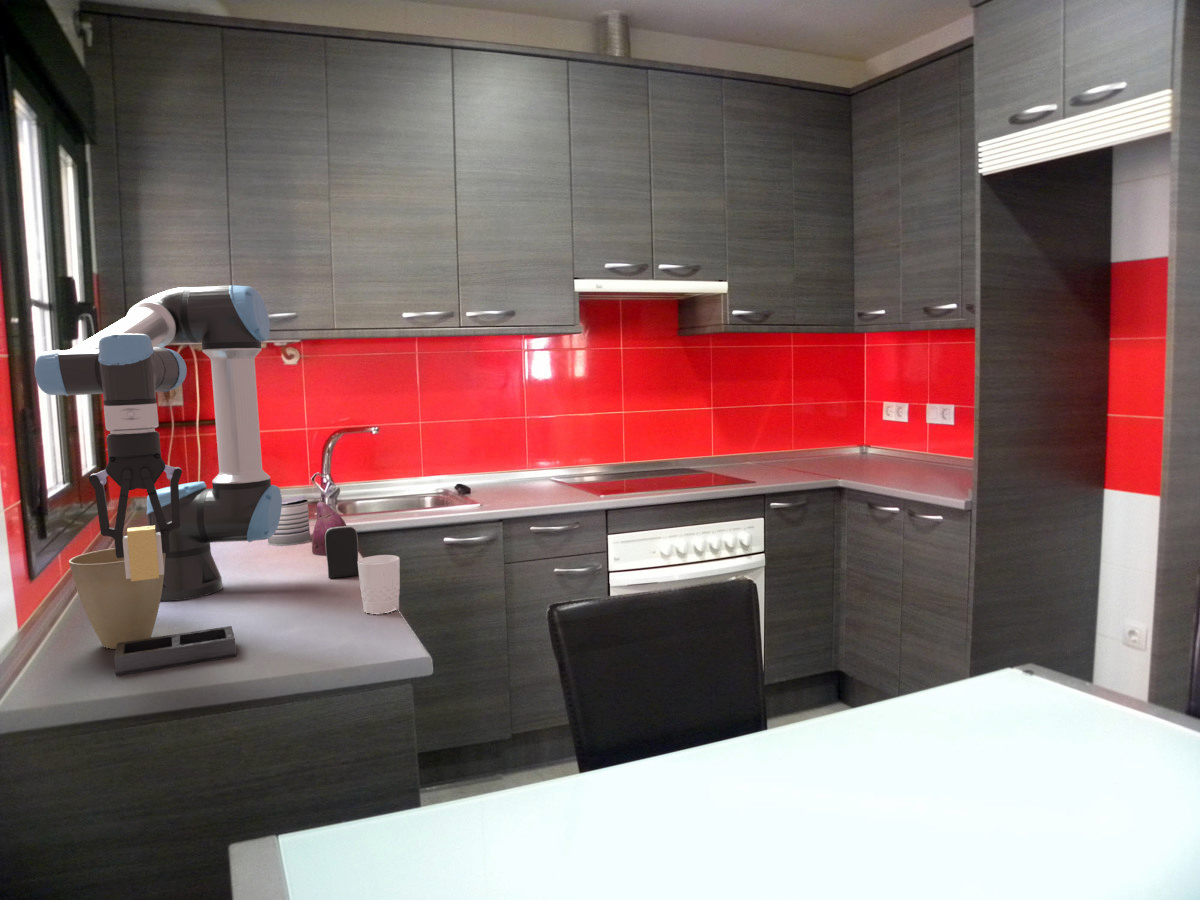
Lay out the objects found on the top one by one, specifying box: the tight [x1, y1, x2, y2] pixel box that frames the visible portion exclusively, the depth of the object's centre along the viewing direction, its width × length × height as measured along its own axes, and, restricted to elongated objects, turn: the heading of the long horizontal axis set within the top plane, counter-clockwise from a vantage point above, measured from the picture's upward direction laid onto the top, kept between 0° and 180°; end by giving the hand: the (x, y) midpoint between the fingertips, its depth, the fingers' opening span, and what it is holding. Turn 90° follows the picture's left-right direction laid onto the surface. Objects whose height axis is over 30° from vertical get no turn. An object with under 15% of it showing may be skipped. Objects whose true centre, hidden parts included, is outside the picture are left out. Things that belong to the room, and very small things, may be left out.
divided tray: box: [114, 625, 237, 677], centre depth 148 cm, size 8×18×3 cm, turn 116°
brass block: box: [126, 525, 159, 581], centre depth 145 cm, size 4×4×8 cm
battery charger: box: [325, 525, 359, 579], centre depth 202 cm, size 7×4×11 cm, turn 109°
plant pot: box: [68, 547, 165, 650], centre depth 157 cm, size 15×15×16 cm
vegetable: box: [311, 499, 348, 556], centre depth 229 cm, size 10×10×15 cm
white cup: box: [357, 554, 401, 615], centre depth 173 cm, size 8×8×10 cm
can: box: [267, 495, 311, 547], centre depth 244 cm, size 11×11×12 cm
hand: (145, 574), depth 145 cm, fingers closed on brass block, 4 cm apart
